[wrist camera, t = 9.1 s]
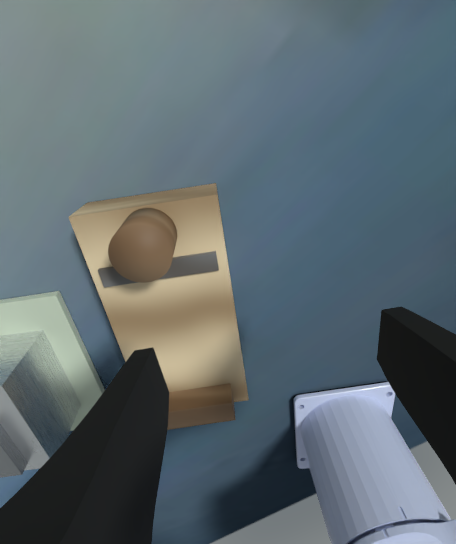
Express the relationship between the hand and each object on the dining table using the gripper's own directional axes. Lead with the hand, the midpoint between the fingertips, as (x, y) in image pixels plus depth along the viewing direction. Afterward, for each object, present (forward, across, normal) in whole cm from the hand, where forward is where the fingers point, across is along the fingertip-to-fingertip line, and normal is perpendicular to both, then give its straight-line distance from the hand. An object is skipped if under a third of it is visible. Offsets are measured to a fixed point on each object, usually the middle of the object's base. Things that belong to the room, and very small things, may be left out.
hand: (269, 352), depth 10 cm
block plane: (+9, +4, +3) cm, 11 cm away
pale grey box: (+9, +16, +7) cm, 19 cm away
